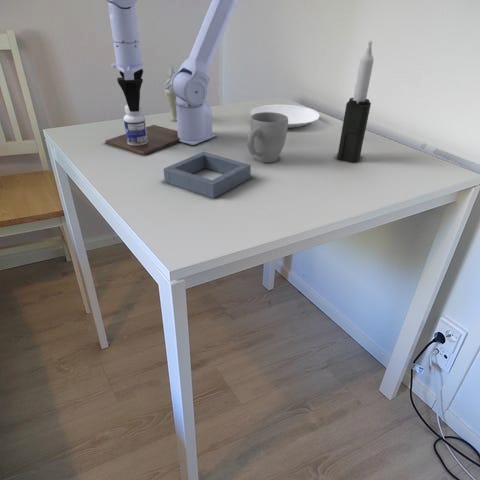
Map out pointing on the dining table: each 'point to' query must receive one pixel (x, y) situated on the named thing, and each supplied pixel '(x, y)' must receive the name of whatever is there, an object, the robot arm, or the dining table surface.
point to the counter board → (156, 140)
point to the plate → (290, 113)
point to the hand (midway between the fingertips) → (134, 107)
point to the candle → (357, 112)
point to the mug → (267, 135)
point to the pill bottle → (135, 127)
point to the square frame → (185, 179)
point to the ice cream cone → (171, 93)
